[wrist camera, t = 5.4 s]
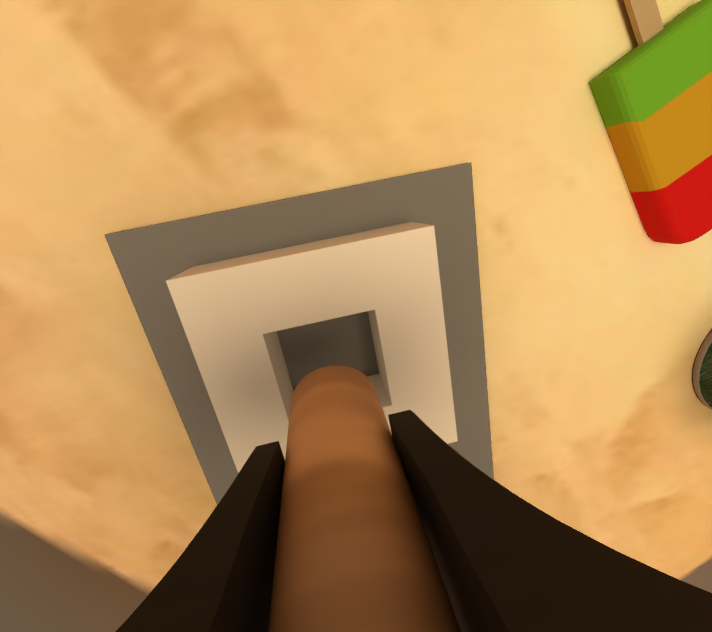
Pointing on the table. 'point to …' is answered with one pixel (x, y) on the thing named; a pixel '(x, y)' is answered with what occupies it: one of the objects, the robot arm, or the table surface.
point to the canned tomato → (704, 372)
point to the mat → (325, 338)
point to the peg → (350, 520)
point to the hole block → (310, 305)
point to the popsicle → (664, 119)
